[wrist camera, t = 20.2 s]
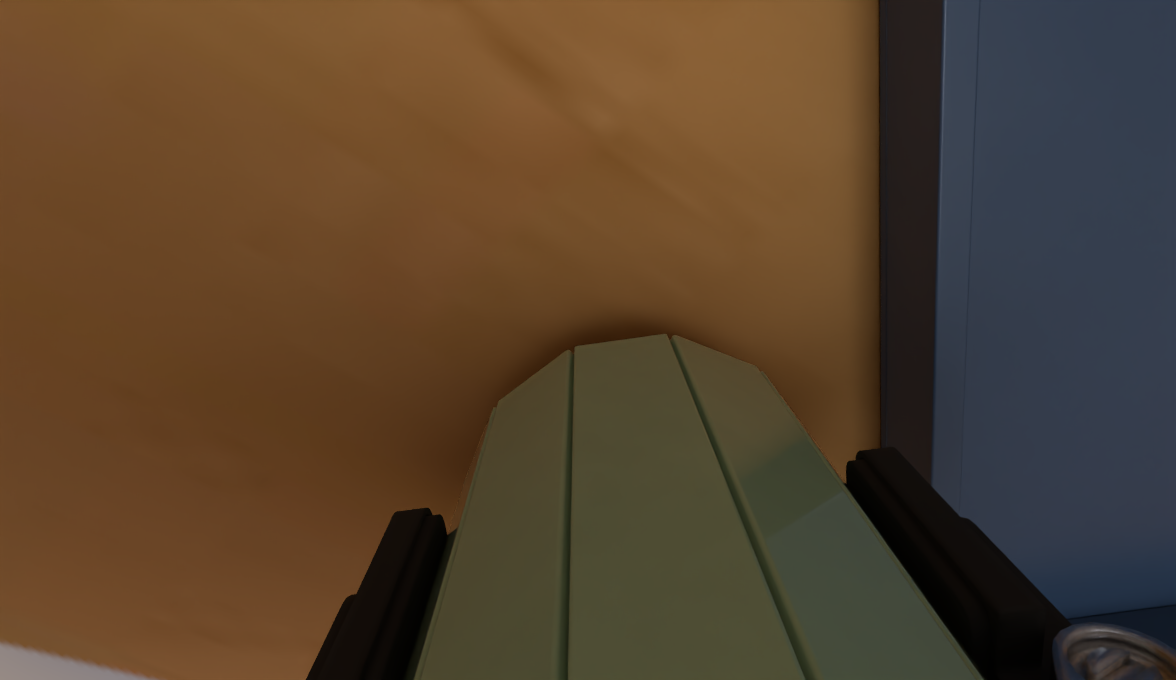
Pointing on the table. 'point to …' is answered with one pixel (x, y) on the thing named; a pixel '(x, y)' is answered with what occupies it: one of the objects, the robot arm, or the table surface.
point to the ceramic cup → (667, 538)
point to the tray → (1037, 285)
